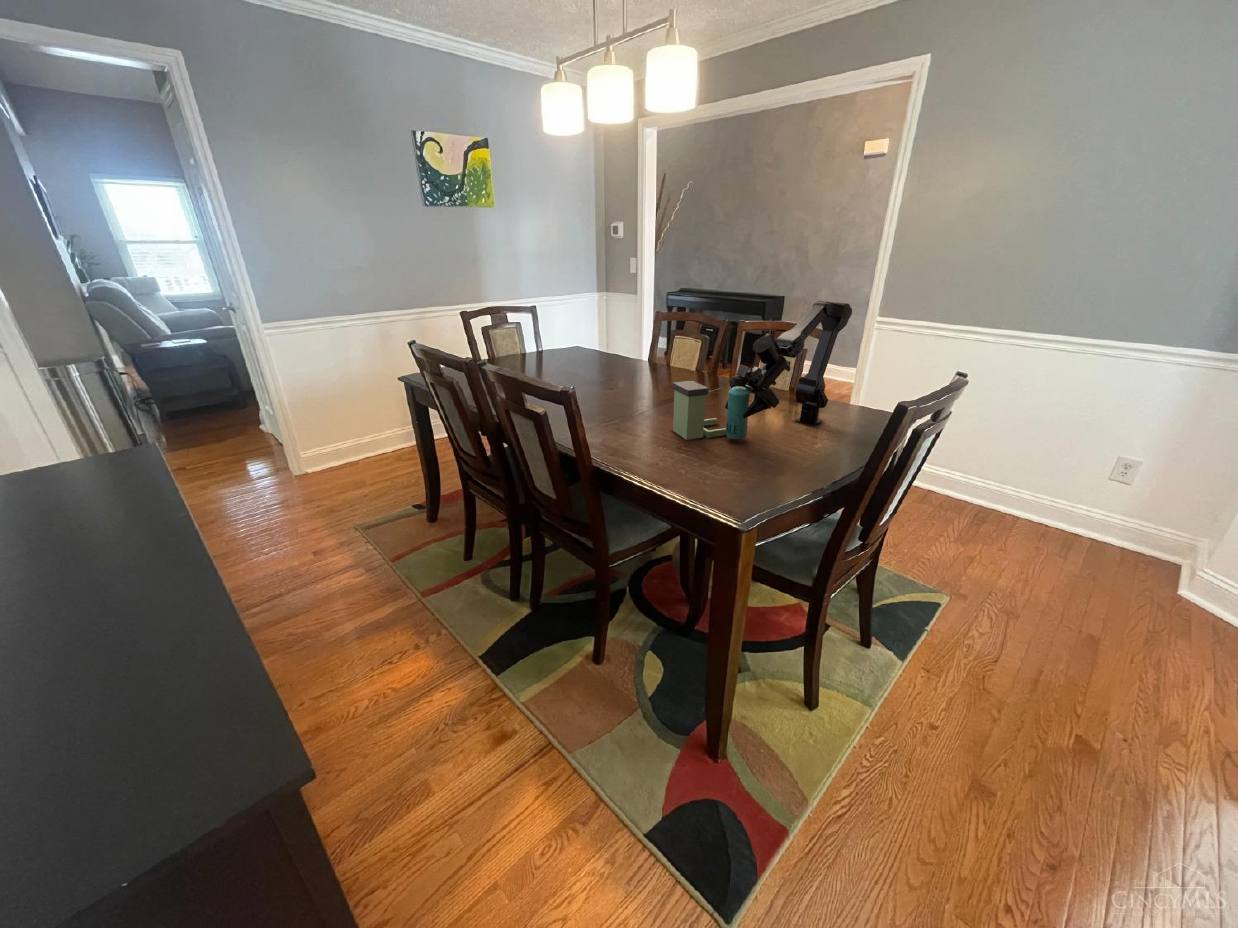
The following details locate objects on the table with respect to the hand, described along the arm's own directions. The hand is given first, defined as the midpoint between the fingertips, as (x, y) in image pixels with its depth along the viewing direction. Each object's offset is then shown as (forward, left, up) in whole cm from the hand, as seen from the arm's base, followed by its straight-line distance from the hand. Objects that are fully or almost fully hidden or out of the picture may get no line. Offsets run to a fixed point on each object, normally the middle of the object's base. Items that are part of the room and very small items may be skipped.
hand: (734, 412), depth 147 cm
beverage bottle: (-2, 0, -9) cm, 10 cm away
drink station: (0, -12, -9) cm, 15 cm away
